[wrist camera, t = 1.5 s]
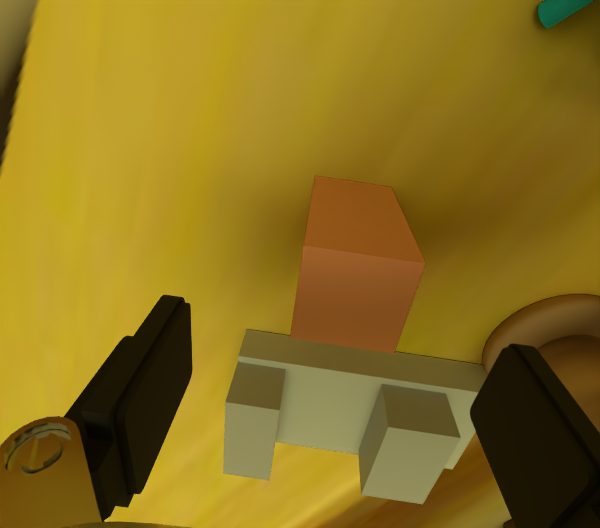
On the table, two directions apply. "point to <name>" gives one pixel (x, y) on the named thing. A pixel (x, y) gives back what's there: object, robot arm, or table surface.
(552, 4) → the teal lobed piece
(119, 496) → the robot arm
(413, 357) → the grey notched block
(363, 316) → the orange rectangular block
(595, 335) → the bobbin
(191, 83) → the table surface
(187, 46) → the table surface
